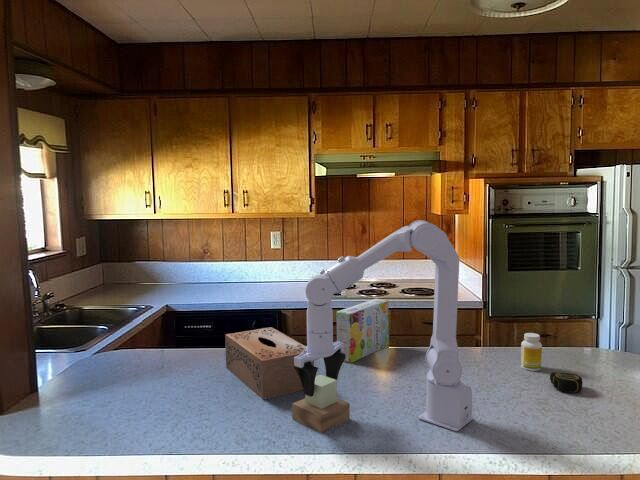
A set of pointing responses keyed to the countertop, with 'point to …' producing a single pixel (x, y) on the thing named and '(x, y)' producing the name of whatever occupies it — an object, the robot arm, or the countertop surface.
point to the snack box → (363, 328)
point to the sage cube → (323, 392)
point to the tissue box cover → (264, 361)
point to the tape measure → (566, 382)
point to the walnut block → (320, 414)
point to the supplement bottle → (531, 352)
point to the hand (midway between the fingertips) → (320, 389)
